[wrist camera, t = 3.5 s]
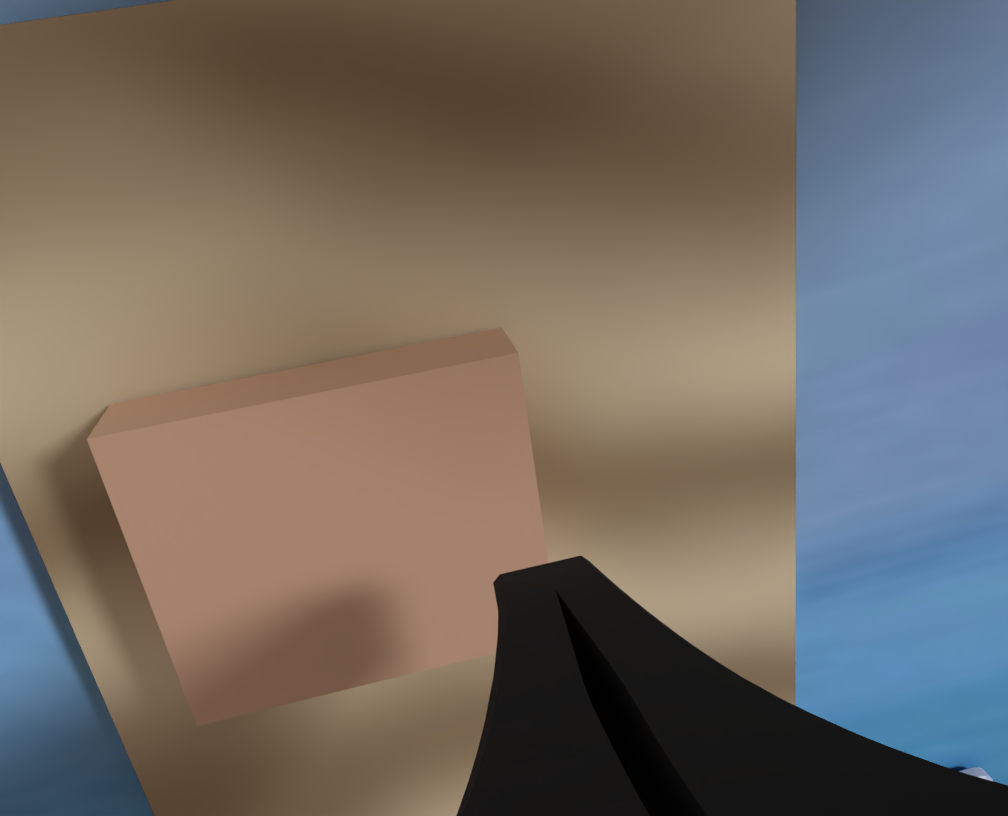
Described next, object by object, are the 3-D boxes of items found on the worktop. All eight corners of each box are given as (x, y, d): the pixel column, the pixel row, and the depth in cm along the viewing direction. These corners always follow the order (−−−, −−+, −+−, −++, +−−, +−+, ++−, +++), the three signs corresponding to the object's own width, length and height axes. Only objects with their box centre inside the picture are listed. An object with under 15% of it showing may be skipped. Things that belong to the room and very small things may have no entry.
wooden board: (783, 715, 21) (795, 732, 21) (192, 871, 20) (189, 894, 19) (778, -82, 14) (796, -88, 14) (-157, 51, 12) (-180, 50, 12)
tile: (559, 637, 16) (197, 726, 15) (540, 590, 18) (208, 668, 17) (518, 352, 14) (86, 439, 13) (500, 325, 15) (111, 401, 14)
